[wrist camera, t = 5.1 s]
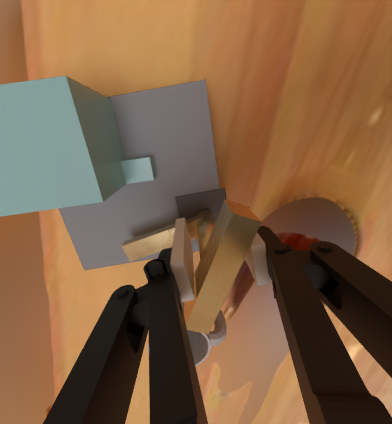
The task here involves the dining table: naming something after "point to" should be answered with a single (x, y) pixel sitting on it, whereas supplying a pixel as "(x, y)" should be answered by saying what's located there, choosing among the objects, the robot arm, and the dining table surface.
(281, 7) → the dining table surface
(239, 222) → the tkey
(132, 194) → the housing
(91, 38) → the dining table surface
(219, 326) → the cup
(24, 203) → the cover
